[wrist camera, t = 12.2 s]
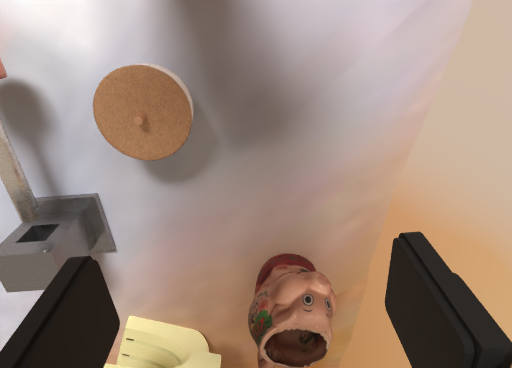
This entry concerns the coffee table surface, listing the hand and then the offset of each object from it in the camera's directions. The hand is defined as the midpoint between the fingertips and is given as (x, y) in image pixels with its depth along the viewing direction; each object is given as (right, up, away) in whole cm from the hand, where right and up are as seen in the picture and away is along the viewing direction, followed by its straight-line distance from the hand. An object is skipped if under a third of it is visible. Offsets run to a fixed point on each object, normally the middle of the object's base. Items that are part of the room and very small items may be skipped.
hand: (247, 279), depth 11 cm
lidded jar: (-12, +14, +34) cm, 39 cm away
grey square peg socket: (-29, -3, +42) cm, 51 cm away
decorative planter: (+5, -14, +48) cm, 51 cm away
